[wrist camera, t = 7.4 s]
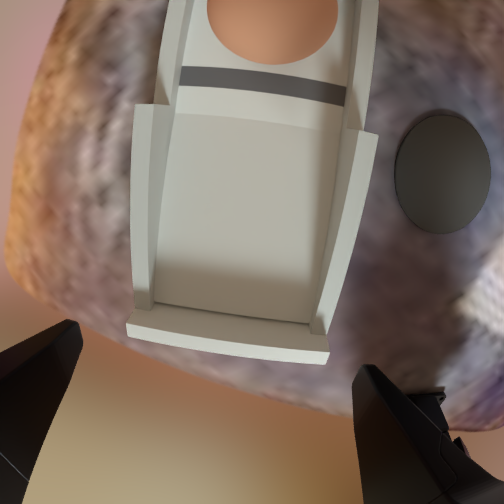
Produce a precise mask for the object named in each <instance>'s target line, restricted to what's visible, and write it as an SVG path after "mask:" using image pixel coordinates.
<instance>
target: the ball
mask: <svg viewBox="0 0 504 504" xmlns="http://www.w3.org/2000/svg"><path fill="white" fill-rule="evenodd" d="M207 16H208V21H209V24H210V26H211V28H212V31H213V32H214V34H215V35H216V37H217V38H218V40H219V41H220V42H221V43H222V44H223V45H224V46H225V47H226V48H227V49H229V50H230V51H232V52H233V53H234V54H236V55H238V56H240V57H242V58H244V59H247V60H249V61H252V62H256V63H261V64H269V65H279V64H288V63H293V62H296V61H299V60H302V59H304V58H306V57H308V56H310V55H312V54H314V53H315V52H316V51H318V50H319V49H320V48H321V47H323V45H324V44H325V43H326V42H327V41H328V40H329V38H330V36H331V35H332V33H333V31H334V29H335V26H336V23H337V19H338V3H337V0H207Z"/></svg>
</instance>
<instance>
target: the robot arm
mask: <svg viewBox="0 0 504 504" xmlns="http://www.w3.org/2000/svg"><path fill="white" fill-rule="evenodd" d="M82 347H83V338H82V334H81V330H80V326H79V324H78V322H76V321H73V320H70V319H66V320H64V321H62V322H60V323H58V324H56V325H54V326H52V327H50V328H48V329H46V330H44V331H42V332H40V333H38V334H36V335H34V336H32V337H30V338H28V339H26V340H24V341H22V342H20V343H18V344H16V345H14V346H12V347H10V348H8V349H6V350H4V351H2V352H0V504H22V501H23V498H24V495H25V492H26V489H27V486H28V483H29V480H30V476H31V474H32V471H33V468H34V465H35V463H36V460H37V457H38V455H39V453H40V450H41V447H42V445H43V442H44V440H45V437H46V435H47V433H48V430H49V428H50V425H51V423H52V421H53V418H54V416H55V414H56V412H57V409H58V407H59V405H60V403H61V401H62V398H63V396H64V394H65V392H66V389H67V388H68V385H69V383H70V380H71V378H72V375H73V372H74V369H75V366H76V364H77V361H78V358H79V355H80V353H81V350H82ZM445 398H446V395H445V393H444V392H440V393H429V394H416V395H405V394H404V393H403V392H402V391H401V390H400V389H399V388H398V387H397V386H396V385H395V384H393V383H392V382H391V381H390V380H389V379H388V378H387V377H386V376H385V375H384V374H383V373H382V372H381V371H380V370H379V369H378V368H377V367H376V366H375V365H373V364H363V365H362V366H361V367H360V368H359V371H358V373H357V375H356V377H355V379H354V381H353V383H352V399H353V422H354V433H355V440H356V447H357V454H358V460H359V468H360V475H361V484H362V493H363V501H364V504H504V481H501V480H498V479H496V478H495V477H493V476H492V475H491V474H489V473H488V472H487V471H485V470H484V469H483V468H482V467H481V466H479V465H478V464H477V463H476V462H474V461H473V460H472V459H471V457H470V455H469V452H468V450H467V448H466V446H465V445H464V443H463V441H462V440H461V438H460V437H458V438H456V439H454V441H453V442H452V440H451V438H450V435H449V433H448V430H449V426H448V424H447V421H446V419H445V417H444V414H443V412H442V410H441V407H440V405H441V404H442V402H443V401H444V400H445Z"/></svg>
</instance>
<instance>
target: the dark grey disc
mask: <svg viewBox="0 0 504 504" xmlns="http://www.w3.org/2000/svg"><path fill="white" fill-rule="evenodd" d="M394 178H395V188H396V193H397V196H398V199H399V202H400V204H401V207H402V208H403V210H404V212H405V213H406V215H407V216H408V217H409V218H410V219H411V220H412V221H413V222H414V223H415V224H416V225H417V226H419V227H420V228H422V229H424V230H426V231H428V232H431V233H436V234H447V233H452V232H455V231H457V230H459V229H461V228H463V227H464V226H466V225H467V224H469V223H470V222H471V221H472V220H473V219H474V218H475V217H476V215H477V214H478V213H479V211H480V210H481V208H482V206H483V204H484V202H485V200H486V198H487V194H488V191H489V186H490V179H491V167H490V160H489V155H488V152H487V149H486V146H485V144H484V142H483V140H482V139H481V137H480V135H479V134H478V133H477V132H476V130H475V129H474V128H473V127H472V126H471V125H469V124H468V123H467V122H465V121H463V120H461V119H459V118H456V117H453V116H447V115H438V116H432V117H429V118H427V119H425V120H423V121H421V122H419V123H418V124H417V125H416V126H414V127H413V128H412V130H411V131H410V132H409V133H408V134H407V136H406V137H405V139H404V140H403V142H402V144H401V146H400V149H399V152H398V155H397V159H396V164H395V176H394Z"/></svg>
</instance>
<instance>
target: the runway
mask: <svg viewBox="0 0 504 504" xmlns="http://www.w3.org/2000/svg"><path fill="white" fill-rule="evenodd" d="M337 3H338V19H337V23H336V26H335V29H334V31H333V33H332V35H331V36H330V38H329V40H328V41H327V42H326V43H325V44H324V45H323V47H321V48H320V49H319V50H318V51H316V52H315V53H314V54H312V55H310V56H308V57H306V58H304V59H302V60H299V61H296V62H293V63H288V64H279V65H269V64H261V63H256V62H252V61H249V60H247V59H244V58H242V57H240V56H238V55H236V54H234V53H233V52H232V51H230V50H229V49H227V48H226V47H225V46H224V45H223V44H222V43H221V42H220V41H219V40H218V38H217V37H216V35H215V34H214V32H213V31H212V28H211V26H210V24H209V21H208V16H207V0H169V5H168V10H167V15H166V20H165V25H164V31H163V36H162V42H161V48H160V55H159V61H158V68H157V76H156V83H155V92H154V101H153V104H135V109H134V121H133V134H132V151H131V177H130V234H131V260H132V278H133V291H134V303H135V309H134V311H133V312H132V314H131V316H130V317H129V319H128V321H127V322H126V327H127V334H128V336H129V337H133V338H138V339H142V340H147V341H152V342H157V343H162V344H167V345H172V346H177V347H183V348H188V349H194V350H200V351H206V352H213V353H219V354H226V355H233V356H241V357H248V358H257V359H265V360H274V361H284V362H295V363H308V364H322V365H325V364H326V362H327V359H328V356H329V354H330V350H329V345H328V341H327V336H326V335H327V332H328V329H329V326H330V323H331V320H332V317H333V314H334V311H335V308H336V305H337V302H338V299H339V295H340V292H341V289H342V286H343V282H344V279H345V276H346V272H347V269H348V265H349V262H350V258H351V255H352V251H353V247H354V244H355V240H356V236H357V232H358V228H359V224H360V220H361V216H362V212H363V208H364V204H365V200H366V195H367V191H368V186H369V182H370V177H371V172H372V168H373V163H374V158H375V152H376V147H377V142H378V136H379V135H376V134H372V133H369V132H365V131H363V130H364V125H365V119H366V112H367V106H368V99H369V92H370V85H371V78H372V70H373V61H374V53H375V43H376V33H377V21H378V7H379V0H337Z"/></svg>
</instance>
